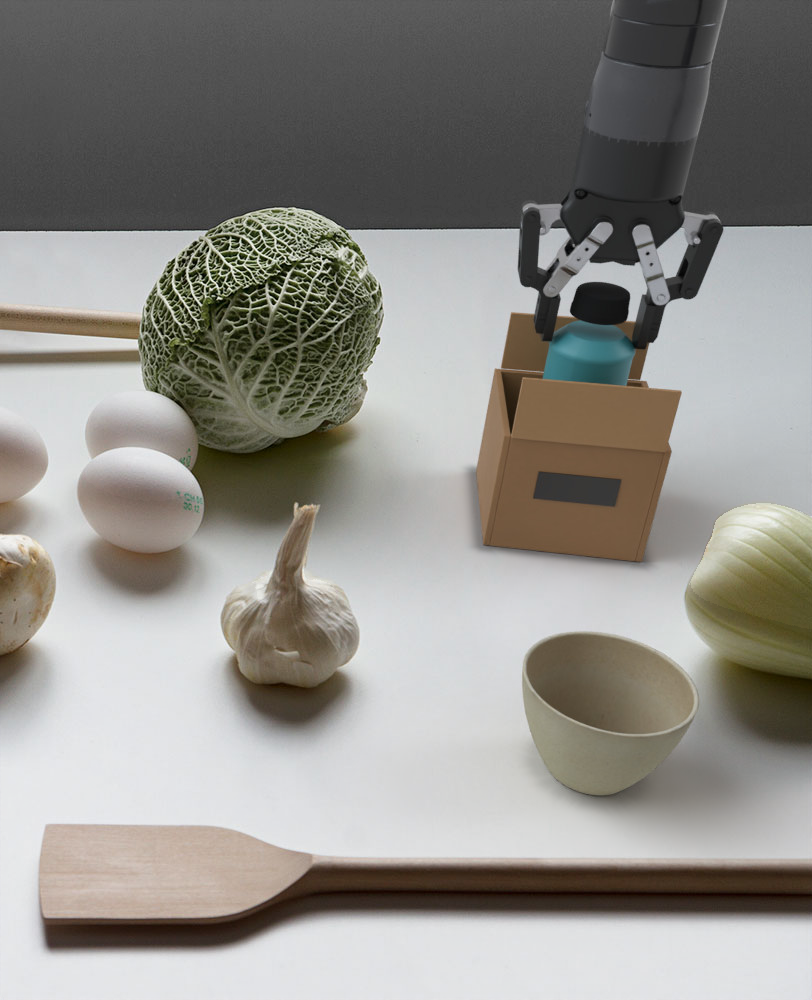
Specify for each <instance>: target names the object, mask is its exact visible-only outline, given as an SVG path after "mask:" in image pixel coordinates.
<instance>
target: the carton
mask: <svg viewBox="0 0 812 1000" xmlns="http://www.w3.org/2000/svg"><path fill="white" fill-rule="evenodd" d="M533 318H534V313H528V312H516V311H511V312H510V316H509V321H508V322H509V323H508V326H507V331H506V336H505V337H506V338H505V342H504V346H503V347H504V349H503V353H502V360H501V364H500V368H494V371H493V377H492V382H491V387H490V393H489V398H488V403H487V410H486V414H485V420H484V425H483V431H482V436H481V441H480V442H481V443H480V448H479V453H478V457H477V458H478V459H477V463H476V469H475V470H476V471H475V474H476V484H477V495H478V504H479V514H480V515H479V516H480V524H481V537H482V545H484V546H491V547H498V548H509V549H516V550H517V549H518V550H526V551H527V550H528V551H536V552H545V553H546V552H547V553H555V554H564V555H565V554H566V555H574V556H581V557H582V556H583V557H590V558H599V559H601V558H602V559H609V560H619V561H628V562H638V563H642V562H643V559H644V555H645V552H646V548H647V544H648V541H649V538H650V534H651V529H652V526H653V523H654V519H655V515H656V511H657V508H658V504H659V500H660V496H661V494H662V489H663V486H664V483H665V478H666V475H667V471H668V468H669V464H670V460H671V456H672V453H673V450H672V448H671V445H670V443H669V442H670V437H671V433H672V430H673V427H674V422H675V419H676V415H677V412H678V408H679V404H680V401H681V396H682V390H678V389H668V388H667V389H666V388H656V387H655V388H654V387H650V386H649V384H648V381H647V380H642V375H643V371H644V367H645V363H646V358H647V355H648V351H649V347H650V343H647V346H646V349H645V350H642V349H635V355H634V357H633V359H632V364H631V368H630V372H629V377H628V381H627V385H626V386H621V385H609V384H597V383H586V382H574V381H562V380H550V379H543V374H544V369H545V364H546V359H547V355H548V350H549V342H547V341H542V340H541V336H540V334H538V333H536V330H535V326H534V321H533ZM575 321H580V320H579V319H577V318H575V317H574V316H571V315H570V316H569V315H568V316H567V315H557V320H556V324H555V329H554V332H556V331H557V330H559V329H560V328H562V327H564V326H566V325H567V324H569V323H572V322H575ZM635 322H636V320H626V321H625V322H624V323H621V324H617V325H614V326H616V327H618V328H619V329H621V330H622V331H623V332H624V333H625V334H626V335H627V336H628V337H629V339H630V340H631V341H632V334H633V330H634V326H635Z"/></svg>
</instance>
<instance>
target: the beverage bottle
mask: <svg viewBox="0 0 812 1000" xmlns="http://www.w3.org/2000/svg"><path fill="white" fill-rule="evenodd" d="M630 302H631V292H630V291H629V290H628V289H627V288H625V287H623V286H621V285H618V284H614V283H611V282H606V281H589V282H584V283H580V284H579V285H578V286H577V287H576V289H575V292H574V295H573V299H572V301H571V304H570V307H569V313H570V316H571V317H575V318H577V319H579V320H580V321H575V322H572V323H569V324H567V325H566V326H564V327H562V328H560V329H559V330H557V331H556V332H554V334H553V339H552V342H549V350H548V355H547V359H546V364H545V369H544V372H543V373H544V374H543V379H550V380H562V381H574V382H586V383H597V384H609V385H621V386H626V385H627V381H628V380H629V379H628V377H629V372H630V368H631V364H632V359H633V357H634V355H635V348H634V345H633V343H632V341H631V340H630V339H629V337H628V336H627V335H626V334H625V333H624V332H623V331H622V330H621V329H619V328H618V327H616V326H614V325H617V324H621V323H624V322H625V321H628V318H629V313H630V310H629V309H630Z"/></svg>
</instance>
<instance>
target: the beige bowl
mask: <svg viewBox="0 0 812 1000" xmlns="http://www.w3.org/2000/svg"><path fill="white" fill-rule="evenodd" d="M521 671H522V673H521V687H522V688H521V689H522V700H523V701H522V702H523V707H524V713H525V718H526V722H527V725H528V729H529V732H530V734H531V735H530V736H531V737H532V740H533V743H534V746H535V748H536V750H537V752H538V754H539V756H540V758H541V760H542V762H543V764H544V765H545V767H546V769H547V770H548V772H549V773H550V774H551V775H552V777H553V778H554V779H555V780H557V781H558V782H559V783H561V784H562V785H563V786H565V787H566V788H569V789H570V790H573V791H576V792H578V793H581V794H586V795H591V796H611V795H614V794H617V793H619V792H622V791H623V790H626V789H627V788H629V787H632V786H633V785H635V784H636V783H638V782H640V781H641V780H642V779H644V778H645V777H647V776H648V775H649V774H650V773H652V772H653V771H654V770H655V769H657V767H659V766H660V765H661V764H662V763H663V762H664V761H665V760H666V759H667V758H668V757H669V756H670V755H671V753H672V752H673V751H674V750H675V748H676V747H678V745H679V743H680V742H681V741H682V740H683V738H684V736H685V735H686V733H687V732H688V730H689V728H690V726H691V725H692V723H693V721H694V719H695V717H696V715H697V712H698V710H699V706H700V696H699V692H698V689H697V687H696V684H695V682H694V680H693V679H692V678H691V676H690V675H689V674H688V673H687V671H686V670H685V669H684V668H683V667H681V665H680V664H678V663H677V662H676V661H675V660H673V659H672V658H671V657H669V656H667V655H666V654H665V653H663V652H661V651H659V650H657V648H654V647H651V646H650V645H648V644H646V643H643V642H641V641H638V640H636V639H632V638H629V637H626V636H621V635H617V634H613V633H608V632H599V631H585V630H584V631H582V630H579V631H567V632H560V633H555V634H552V635H549V636H547V637H544V638H542V639H540V640H539V641H537V642H536V643H534V644H533V645H532V646H531V647H530V648H529V649H528V651H527V652H526V653H525V655H524V657H523V662H522V670H521Z"/></svg>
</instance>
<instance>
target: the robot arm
mask: <svg viewBox="0 0 812 1000" xmlns="http://www.w3.org/2000/svg"><path fill="white" fill-rule="evenodd" d="M611 3H612V4H611V8H610V12H609V17H608V22H607V27H606V32H605V38H604V41H603V46H602V51H601V53H600V54H601V55H600V59H599V63H598V64H597V68H596V71H595V74H594V76H593V80H592V82H591V86H590V91H589V95H588V99H587V101H586V103H585V106H584V111H583V113H584V120H583V125H582V130H581V135H580V140H579V144H578V150H577V154H576V158H575V159H576V160H575V164H574V169H573V174H572V178H571V184H570V186H569V187H570V188H569V190H568V192H567V193H566V195H565V196H564V198H563V199H562V200H561V201H560V203H548V204H546V203H545V204H543V203H542V204H538V203H537V202H536V201H535V200H533V199H527V200H525V201H524V202H523V203H522V204H521V205H520V214H519V215H520V216H519V233H518V253H517V254H518V255H517V274H518V279H519V282H520V285H521V286H522V287H524V288H531V289H534V290H536V291H537V292H538V294H537V298H536V304H535V309H534V313H533V314H534V318H533V321H534V326H535V330H536V333H538V334H540V336H541V340H542V341H547V342H552V339H553V334H554V329H555V324H556V320H557V316H559V315H558V314H559V310H560V306H561V300H562V297H561V292H562V290H563V289H564V288H565V287H566V286H567V284H568V283H569V282H570V281H571V279H572V278H573V277H575V276H577V275H578V274H579V273H580V271H582V269H583V268H584V267H585V265H586V264H587V263H588V262H589V263H590V264H607V263H617V264H619V265H622V266H632V267H635V265H636V264H638V263H639V267H640V269H641V272H642V276H643V280H644V282H645V284H646V293H645V294H644V293H643V294H641V297H640V298H641V299H640V302H639V306H638V309H637V314H636V318H635V321H636V322H635V326H634V330H633V334H632V343H633V345H634V348H635V349H642V350H645V349H646V346H647V343H649V344H653V343H655V341H656V340H657V339H658V336H659V332H660V329H661V325H662V321H663V317H664V313H665V309H666V307H667V305H668V304H669V303H670V302H672V301H675V300H679V299H683V300H686V301H687V300H692V299H694V298H696V297H697V296H698V294H699V291H700V289H701V286H702V284H703V282H704V279H705V277H706V274H707V271H708V269H709V267H710V265H711V262H712V259H713V257H714V255H715V252H716V250H717V247H718V246H719V243H720V240H721V238H722V235H723V233H724V226H723V224H722V222H721V220H720V219H719V216H717V214H716V213H715V212H713V211H710V210H709V211H708V210H707V211H704V212H703V213H701V214H699V213H695V212H689V211H684V207H683V197H684V193H685V188H686V185H687V181H688V176H689V172H690V168H691V165H692V161H693V156H694V153H695V148H696V144H697V140H698V138H699V137H698V136H699V132H700V129H701V125H702V120H703V117H704V112H705V108H706V105H707V101H708V95H709V90H710V78H711V72H712V71H711V69H712V64H713V60H714V55H715V51H716V48H717V43H718V40H719V36H720V33H721V28H722V23H723V19H724V15H725V11H726V7H727V3H728V0H612V2H611ZM559 220H560V222H561V223H562V225H563V227H564V229H565V230H566V232H567V234H568V235H569V236H568V237H567V239H566V240H565V241H564V242H563V244H562V245H561V246H560V248H559V249H558V251H557V253H556V256H555V257H554V258H553V260H551V262H550V263H549V265H548V266H547V267H546V269H544V268H542V267H539V256H540V255H539V253H540V236H545V235H547V234H548V233H549V232H550V230H551V228H552V225H553V224H554V223H555V222H557V221H559ZM681 228H682V229H684V232H683V237H684V239H685V242H686V243H687V244H688V245H687V246H686V249H685V252H684V254H683V257H682V259H681V262H680V264H679V266H678V269H677V272H676V274H675V276H672V277H667V278H666V277H665V274H664V270H663V266H662V264H661V260H660V257H659V254H658V251H657V250H658V249H659V248H660V247H661V246H662V245H664V244H665V243H666V242H667V241H668V240H669V239H670V238H671V237H672V236H674V235H675V234H676V233H677V232H678V231H679V230H680V229H681Z"/></svg>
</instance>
